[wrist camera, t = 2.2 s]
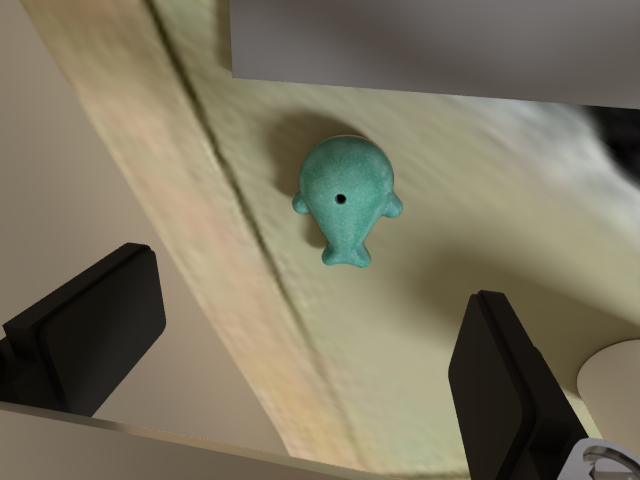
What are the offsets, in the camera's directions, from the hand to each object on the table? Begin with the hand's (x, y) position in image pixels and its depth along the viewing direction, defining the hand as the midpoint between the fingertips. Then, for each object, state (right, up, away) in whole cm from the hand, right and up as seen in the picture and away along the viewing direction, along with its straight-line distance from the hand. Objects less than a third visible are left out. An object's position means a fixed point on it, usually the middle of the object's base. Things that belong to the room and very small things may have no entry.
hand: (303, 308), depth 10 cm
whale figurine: (+2, +4, +9) cm, 11 cm away
